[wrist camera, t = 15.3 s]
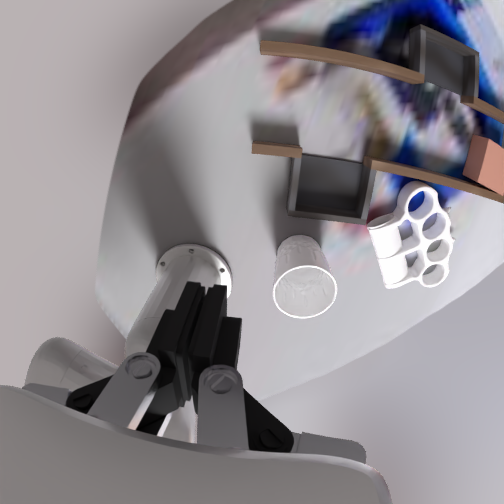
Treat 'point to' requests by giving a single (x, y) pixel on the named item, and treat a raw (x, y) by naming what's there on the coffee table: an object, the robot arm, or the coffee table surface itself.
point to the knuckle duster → (412, 239)
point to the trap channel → (363, 175)
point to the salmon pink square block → (485, 164)
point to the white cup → (302, 278)
